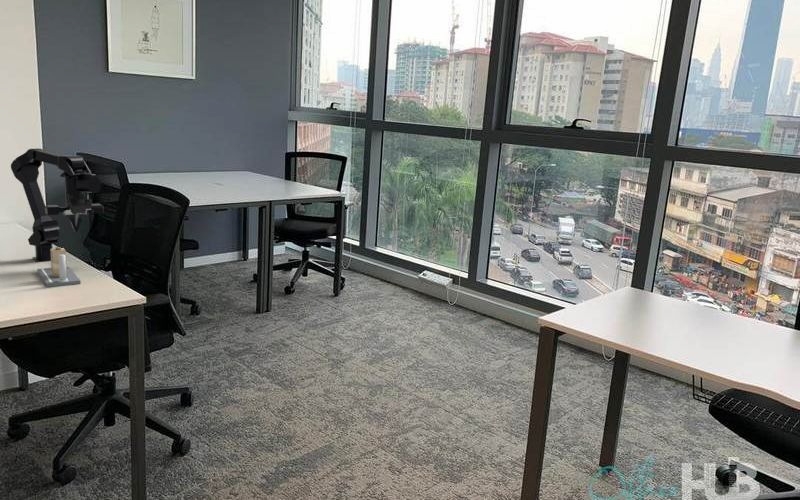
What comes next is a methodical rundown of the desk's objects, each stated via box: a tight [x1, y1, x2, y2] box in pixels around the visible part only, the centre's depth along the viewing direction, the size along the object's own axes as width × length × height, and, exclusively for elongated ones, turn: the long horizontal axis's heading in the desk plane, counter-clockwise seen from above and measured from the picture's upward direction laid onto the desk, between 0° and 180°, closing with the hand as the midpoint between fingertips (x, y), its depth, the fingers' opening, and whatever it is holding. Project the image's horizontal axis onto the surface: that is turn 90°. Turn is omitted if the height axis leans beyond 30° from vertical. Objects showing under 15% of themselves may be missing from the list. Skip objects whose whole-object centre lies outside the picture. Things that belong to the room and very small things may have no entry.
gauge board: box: [36, 254, 81, 288], centre depth 211 cm, size 20×10×10 cm, turn 38°
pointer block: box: [50, 246, 68, 277], centre depth 210 cm, size 4×4×10 cm
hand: (76, 232), depth 225 cm, fingers closed
